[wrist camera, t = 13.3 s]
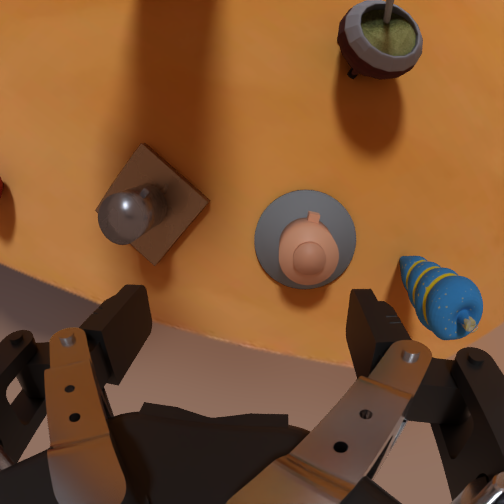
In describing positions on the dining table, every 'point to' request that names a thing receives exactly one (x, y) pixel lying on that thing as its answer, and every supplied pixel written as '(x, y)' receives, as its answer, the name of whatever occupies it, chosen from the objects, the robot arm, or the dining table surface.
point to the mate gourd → (379, 40)
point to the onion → (1, 187)
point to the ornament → (441, 298)
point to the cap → (307, 251)
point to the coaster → (295, 208)
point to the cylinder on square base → (149, 205)
